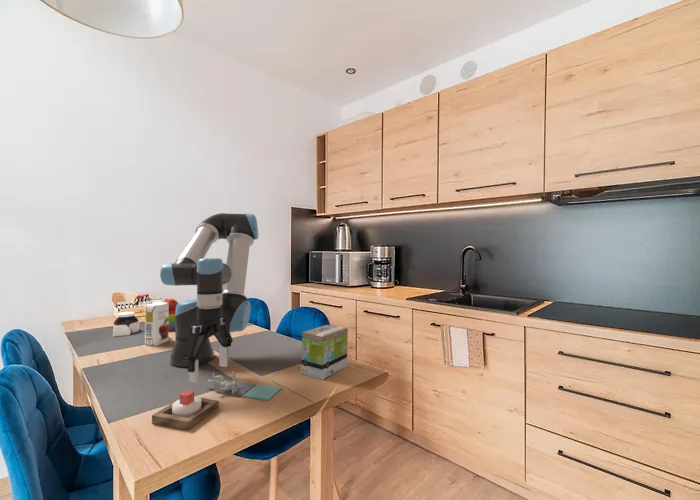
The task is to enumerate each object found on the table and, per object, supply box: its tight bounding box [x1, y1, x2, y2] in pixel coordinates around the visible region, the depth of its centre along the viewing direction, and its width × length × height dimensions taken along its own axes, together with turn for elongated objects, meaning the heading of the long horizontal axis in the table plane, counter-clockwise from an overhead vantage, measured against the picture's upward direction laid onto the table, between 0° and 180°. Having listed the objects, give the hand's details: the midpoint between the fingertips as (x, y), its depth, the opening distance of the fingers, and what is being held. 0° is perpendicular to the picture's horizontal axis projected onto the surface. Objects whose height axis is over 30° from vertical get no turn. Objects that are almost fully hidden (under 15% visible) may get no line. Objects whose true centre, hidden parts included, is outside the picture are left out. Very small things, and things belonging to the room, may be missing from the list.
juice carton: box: [144, 301, 170, 347], centre depth 142 cm, size 8×9×19 cm
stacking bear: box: [163, 298, 179, 332], centre depth 163 cm, size 11×10×18 cm
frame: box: [151, 397, 220, 431], centre depth 83 cm, size 11×11×2 cm
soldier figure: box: [204, 371, 239, 396], centre depth 97 cm, size 8×5×12 cm
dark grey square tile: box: [216, 380, 257, 398], centre depth 98 cm, size 8×8×1 cm
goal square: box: [242, 383, 283, 401], centre depth 96 cm, size 8×8×1 cm
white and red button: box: [171, 390, 202, 418], centre depth 83 cm, size 7×7×6 cm
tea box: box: [300, 324, 349, 381], centre depth 114 cm, size 15×10×15 cm, turn 148°
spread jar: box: [112, 311, 140, 338], centre depth 155 cm, size 12×11×12 cm
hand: (209, 373), depth 101 cm, fingers open, 13 cm apart
